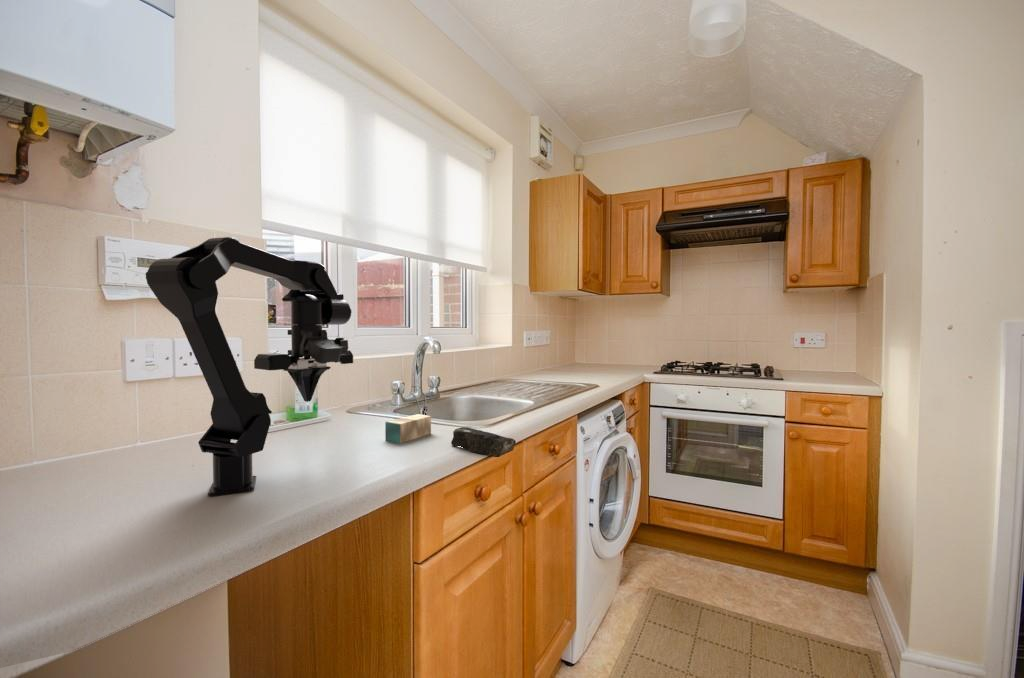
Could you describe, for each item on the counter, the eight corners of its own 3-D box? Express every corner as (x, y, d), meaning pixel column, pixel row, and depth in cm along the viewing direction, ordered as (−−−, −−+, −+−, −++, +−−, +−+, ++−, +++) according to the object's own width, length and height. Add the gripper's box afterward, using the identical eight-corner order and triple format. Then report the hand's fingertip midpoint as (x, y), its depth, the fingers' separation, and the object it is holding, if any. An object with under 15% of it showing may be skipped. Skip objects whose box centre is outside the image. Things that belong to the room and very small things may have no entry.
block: (398, 424, 106) (431, 416, 115) (385, 421, 109) (417, 414, 118) (398, 443, 106) (430, 433, 116) (385, 440, 109) (417, 431, 118)
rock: (502, 460, 95) (503, 439, 95) (443, 448, 103) (443, 430, 103) (520, 451, 102) (521, 432, 102) (464, 441, 110) (464, 423, 110)
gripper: (286, 325, 80) (287, 413, 81) (370, 325, 96) (370, 398, 97) (252, 324, 86) (253, 406, 87) (336, 324, 102) (336, 393, 102)
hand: (307, 401), depth 93 cm, fingers closed
